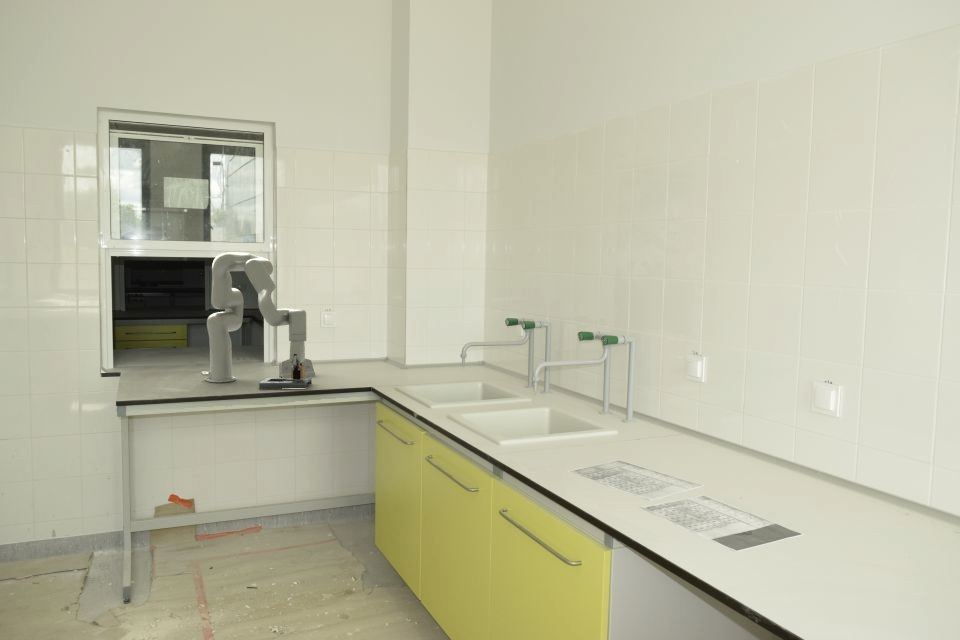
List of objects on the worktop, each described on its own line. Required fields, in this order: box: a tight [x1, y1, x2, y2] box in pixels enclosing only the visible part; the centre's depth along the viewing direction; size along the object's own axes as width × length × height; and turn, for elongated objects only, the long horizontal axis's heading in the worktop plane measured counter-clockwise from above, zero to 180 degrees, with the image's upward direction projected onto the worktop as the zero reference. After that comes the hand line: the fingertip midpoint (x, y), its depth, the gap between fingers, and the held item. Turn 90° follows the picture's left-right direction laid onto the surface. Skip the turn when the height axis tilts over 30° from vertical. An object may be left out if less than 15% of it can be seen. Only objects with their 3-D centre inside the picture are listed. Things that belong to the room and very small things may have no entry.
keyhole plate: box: [258, 377, 313, 390], centre depth 320 cm, size 20×13×3 cm, turn 92°
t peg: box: [291, 366, 306, 381], centre depth 320 cm, size 5×5×9 cm
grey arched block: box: [278, 358, 316, 378], centre depth 346 cm, size 17×5×10 cm, turn 122°
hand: (298, 377), depth 320 cm, fingers closed on t peg, 5 cm apart
